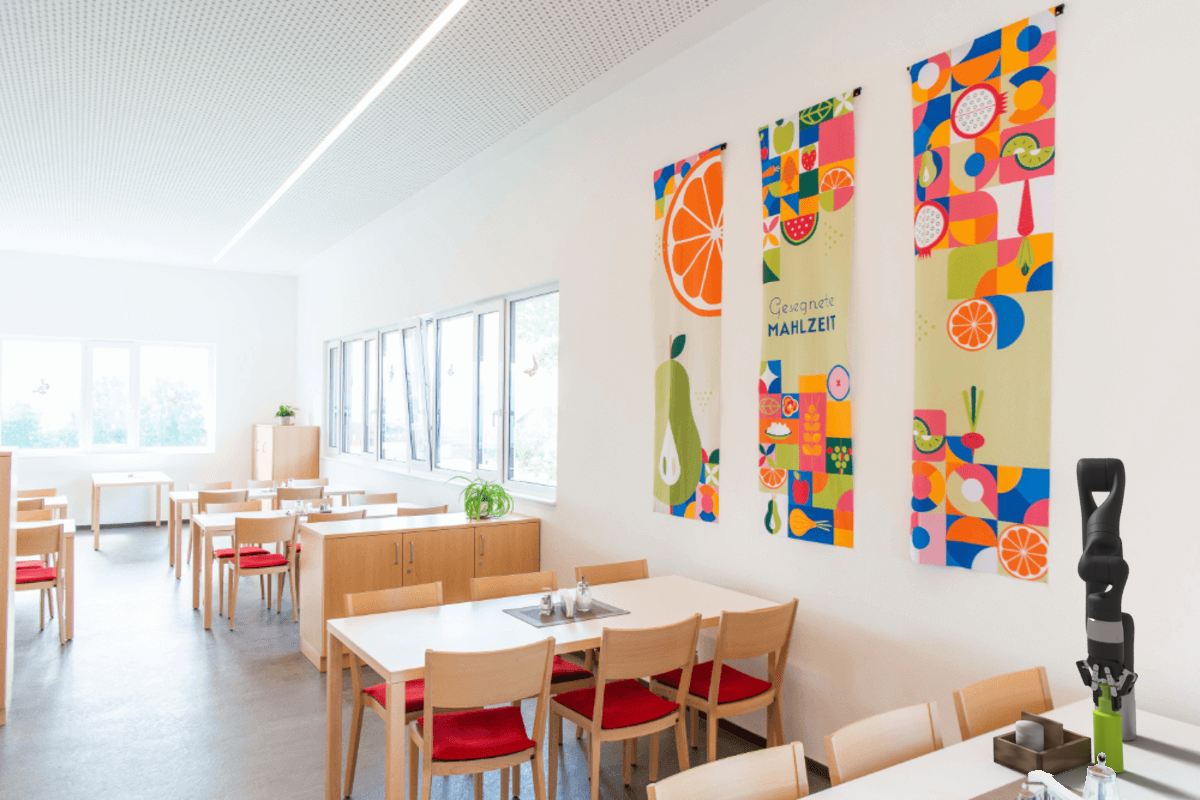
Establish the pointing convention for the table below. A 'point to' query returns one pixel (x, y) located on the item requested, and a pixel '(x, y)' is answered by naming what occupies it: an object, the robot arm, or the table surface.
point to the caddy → (1041, 746)
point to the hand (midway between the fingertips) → (1107, 707)
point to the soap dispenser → (1108, 731)
